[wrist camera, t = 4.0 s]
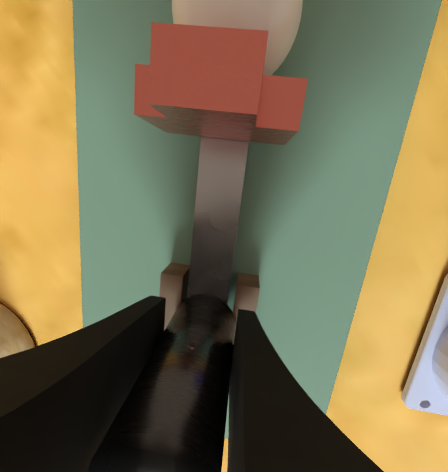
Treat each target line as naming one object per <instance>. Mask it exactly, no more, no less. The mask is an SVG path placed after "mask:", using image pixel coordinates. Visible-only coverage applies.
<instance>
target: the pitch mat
mask: <svg viewBox="0 0 448 472" xmlns="http://www.w3.org/2000/svg"><path fill="white" fill-rule="evenodd" d="M441 2H442V0H303V5H302V14H301V20H300V24H299V28H298V32H297V35H296V38H295V40H294V43H293V45H292V47H291V49H290V51H289V53H288V55H287V56H286V58H285V60H284V61H283V62H282V64H281V65H280V66H279V68H278V69H277V70H276V71H275V72H274V73H273V74H272V75H271V76H283V77H295V78H306V79H308V82H307V88H306V93H305V99H304V104H303V110H302V116H301V121H300V127H299V131H298V132H297V133H296V134H295V135H294V136H293V137H292V138H291V139H290V140H289V141H288V142H287V143H286V144H285V145H275V144H266V143H257V142H249V149H248V156H247V164H246V171H245V179H244V186H243V194H242V201H241V209H240V216H239V224H238V231H237V239H236V246H235V254H234V261H233V269H232V276H231V284H230V291H229V299H228V306H229V307H230V309H231V310H232V312H233V307H234V300H235V293H236V285H237V278H238V273H244V274H251V275H257V276H259V284H260V291H259V297H258V303H257V309H256V314H257V317H258V319H259V321H260V323H261V325H262V327H263V329H264V331H265V333H266V335H267V337H268V338H269V340H270V342H271V344H272V345H273V347H274V349H275V350H276V352H277V353H278V355H279V357H280V358H281V360H282V361H283V363H284V364H285V365H286V367H287V368H288V370H289V371H290V373H291V374H292V375H293V377H294V378H295V379H296V381H297V382H298V383H299V385H300V386H301V387H302V388H303V390H304V391H305V392H306V393H307V394H308V396H309V397H310V398H311V399H312V400H313V401H314V403H315V404H316V405H317V406H318V407H319V408H320V409H321V410H322V411H323V412H324V414H325V415H326V412H327V409H328V405H329V401H330V398H331V394H332V391H333V387H334V384H335V380H336V376H337V373H338V369H339V366H340V362H341V359H342V355H343V351H344V348H345V344H346V341H347V337H348V334H349V330H350V326H351V323H352V319H353V316H354V312H355V309H356V305H357V301H358V298H359V294H360V291H361V287H362V284H363V280H364V276H365V273H366V269H367V266H368V262H369V259H370V255H371V252H372V248H373V244H374V241H375V237H376V234H377V230H378V227H379V223H380V219H381V216H382V212H383V209H384V205H385V202H386V198H387V194H388V191H389V187H390V184H391V180H392V177H393V173H394V169H395V166H396V162H397V159H398V155H399V152H400V148H401V144H402V141H403V137H404V134H405V130H406V127H407V123H408V119H409V116H410V112H411V109H412V105H413V102H414V98H415V95H416V91H417V87H418V84H419V80H420V77H421V73H422V70H423V66H424V62H425V59H426V55H427V52H428V48H429V45H430V41H431V37H432V34H433V30H434V27H435V23H436V20H437V16H438V12H439V9H440V5H441ZM152 22H154V23H168V24H174V23H173V16H172V0H73V28H74V60H75V91H76V123H77V154H78V186H79V217H80V249H81V280H82V312H83V328H84V327H87V326H89V325H91V324H93V323H95V322H98V321H100V320H102V319H104V318H106V317H108V316H110V315H112V314H114V313H116V312H118V311H120V310H122V309H124V308H126V307H128V306H130V305H132V304H134V303H136V302H138V301H140V300H142V299H144V298H146V297H148V296H158V297H159V295H160V277H161V272H162V271H163V270H164V269H165V268H166V267H167V266H168V265H169V264H170V263H178V264H184V265H190V259H191V247H192V236H193V224H194V213H195V201H196V190H197V178H198V167H199V155H200V143H201V136H192V135H183V134H174V133H166V132H164V131H163V130H161V129H159V128H157V127H156V126H154V125H152V124H150V123H149V122H147V121H145V120H143V119H141V118H140V117H138V116H136V115H134V92H135V64H144V65H150V51H151V23H152ZM228 434H229V396H228V407H227V417H226V427H225V437H224V438H228Z"/></svg>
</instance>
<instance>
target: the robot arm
mask: <svg viewBox="0 0 448 472" xmlns="http://www.w3.org/2000/svg"><path fill="white" fill-rule="evenodd" d="M165 306H166V298H164V297H158V296H148V297H146V298H144V299H142V300H140V301H138V302H136V303H134V304H132V305H130V306H128V307H126V308H124V309H122V310H120V311H118V312H116V313H114V314H112V315H110V316H108V317H106V318H104V319H102V320H100V321H98V322H95V323H93V324H91V325H89V326H87V327H84V328H82V329H80V330H78V331H76V332H73V333H71V334H68V335H66V336H63V337H61V338H58V339H56V340H53V341H50V342H48V343H45V344H42V345H39V346H37V347H34V348H31V349H28V350H24V351H21V352H18V353H15V354H12V355H8V356H5V357H2V358H0V472H88V468H89V464H90V462H91V460H92V458H93V456H94V454H95V452H96V451H97V449H98V447H99V445H100V443H101V442H102V440H103V438H104V436H105V435H106V433H107V431H108V429H109V428H110V426H111V424H112V422H113V421H114V419H115V417H116V415H117V413H118V412H119V410H120V408H121V406H122V405H123V403H124V401H125V399H126V398H127V396H128V394H129V392H130V391H131V389H132V387H133V385H134V383H135V382H136V380H137V378H138V376H139V375H140V373H141V371H142V369H143V368H144V366H145V364H146V362H147V361H148V359H149V357H150V355H151V353H152V352H153V350H154V348H155V346H156V345H157V343H158V341H159V339H160V338H161V336H162V334H163V332H164V325H165ZM401 399H402V401H403V402H404V404H405V405H406V406H407V407H408V408H410V409H414V410H420V411H425V412H431V413H436V414H441V415H447V416H448V274H447V275H446V277H445V279H444V281H443V284H442V287H441V290H440V292H439V295H438V298H437V300H436V303H435V306H434V308H433V311H432V314H431V317H430V319H429V322H428V325H427V327H426V330H425V333H424V336H423V338H422V341H421V344H420V346H419V349H418V352H417V354H416V357H415V360H414V363H413V365H412V368H411V371H410V373H409V376H408V379H407V382H406V384H405V387H404V390H403V392H402V395H401ZM227 472H384V471H382V470H381V469H380V468H379V467H378V466H377V465H376V464H375V463H374V462H373V461H372V460H371V459H370V458H368V457H367V456H366V455H365V454H364V453H363V452H362V451H361V450H360V449H359V448H358V447H357V446H356V445H355V444H354V443H353V442H352V441H351V440H350V439H349V438H348V437H347V436H346V435H345V434H344V433H343V432H342V431H341V430H340V429H339V428H338V427H337V426H336V425H335V424H334V423H333V422H332V421H331V420H330V419H329V418H328V417H327V416H326V415H325V414H324V412H323V411H322V410H321V409H320V408H319V407H318V406H317V405H316V404H315V403H314V401H313V400H312V399H311V398H310V397H309V396H308V394H307V393H306V392H305V391H304V390H303V388H302V387H301V386H300V385H299V383H298V382H297V381H296V379H295V378H294V377H293V375H292V374H291V373H290V371H289V370H288V368H287V367H286V365H285V364H284V363H283V361H282V360H281V358H280V357H279V355H278V353H277V352H276V350H275V349H274V347H273V345H272V344H271V342H270V340H269V338H268V337H267V335H266V333H265V331H264V329H263V327H262V325H261V323H260V321H259V319H258V317H257V314H256V313H255V312H254V311H250V310H243V309H238V314H237V322H236V329H235V337H234V344H233V354H232V364H231V376H230V386H229V434H228V469H227Z"/></svg>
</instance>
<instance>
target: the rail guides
mask: <svg viewBox="0 0 448 472" xmlns="http://www.w3.org/2000/svg"><path fill="white" fill-rule="evenodd" d="M189 270H190V265H184V264H178V263H170V264H169V265H168V266H167V267H166V268H165V269H164V270H163V271H162V272H161V277H160V295H159V297H164V298H166V306H165V325H164V331H165V329H166V327H167V325H168V323H169V322H170V320H171V318H172V316H173V315H174V313H175V311H176V309H177V308H178V306H179V305H180V303H181V302H182V301H183V300H185V299H186V298H187V293H188V282H189ZM259 291H260V284H259V276H257V275H251V274H244V273H238V278H237V285H236V293H235V300H234V307H233V314H234V317H235V323H236V322H237V314H238V309H243V310H250V311H254V312H255V313H256V309H257V303H258V297H259ZM235 329H236V325H235ZM234 337H235V336H234Z"/></svg>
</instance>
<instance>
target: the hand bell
mask: <svg viewBox="0 0 448 472" xmlns="http://www.w3.org/2000/svg"><path fill="white" fill-rule="evenodd" d="M34 347H35V345H34V342H33V340H32V338H31V336H30V334H29V332H28V331H27V329H26V328H25V326H24V325H23V323H22V322H21V321H20V320H19V318H18V317H17V316H16V315H15V314H14V313H13V312H11V310H9V309H8V308H7V307H5V306H4V305H3V304H1V303H0V358H2V357H5V356H8V355H12V354H15V353H18V352H21V351H24V350H28V349H31V348H34Z"/></svg>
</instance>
